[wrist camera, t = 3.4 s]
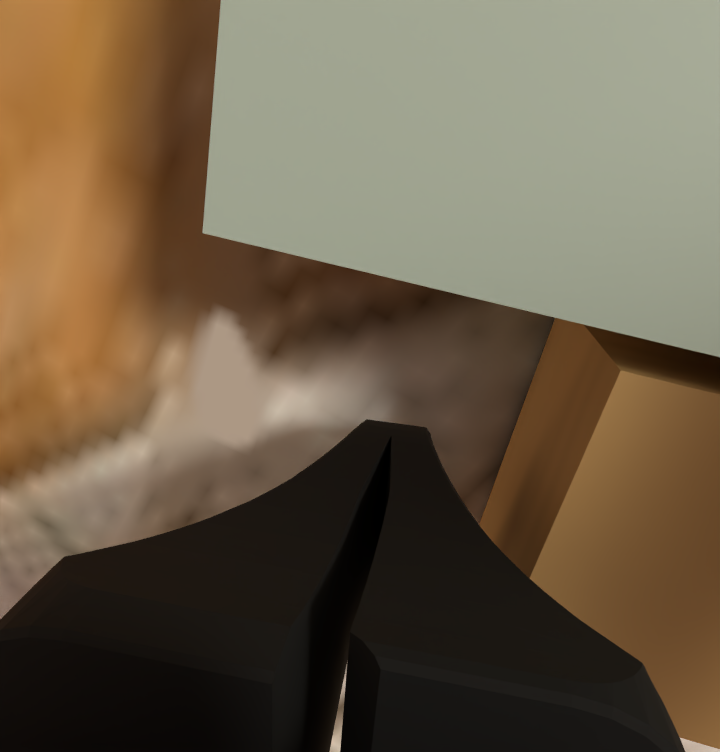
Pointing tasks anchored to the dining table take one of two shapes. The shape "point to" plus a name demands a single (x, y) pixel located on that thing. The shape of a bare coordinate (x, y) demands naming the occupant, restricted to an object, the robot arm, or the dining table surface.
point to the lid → (483, 150)
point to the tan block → (624, 505)
